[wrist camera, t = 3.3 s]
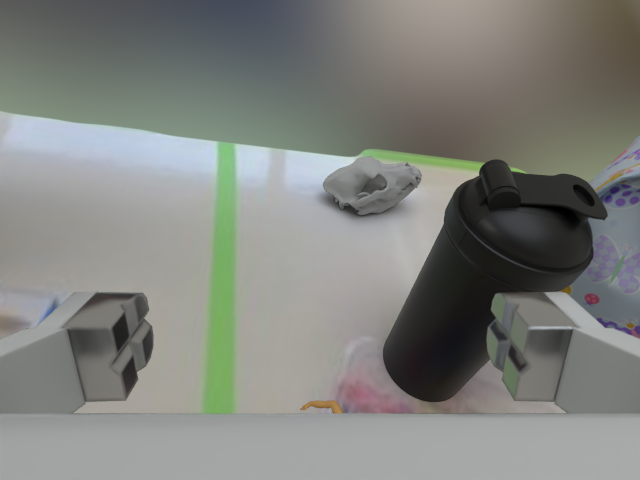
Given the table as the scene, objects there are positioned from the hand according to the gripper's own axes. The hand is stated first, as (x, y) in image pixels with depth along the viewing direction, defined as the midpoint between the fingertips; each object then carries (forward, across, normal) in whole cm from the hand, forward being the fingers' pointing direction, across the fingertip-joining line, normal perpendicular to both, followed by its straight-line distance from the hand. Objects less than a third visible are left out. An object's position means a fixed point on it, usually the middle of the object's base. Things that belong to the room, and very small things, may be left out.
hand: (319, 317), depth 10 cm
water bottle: (+28, -10, +23) cm, 37 cm away
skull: (+50, -6, +12) cm, 52 cm away
